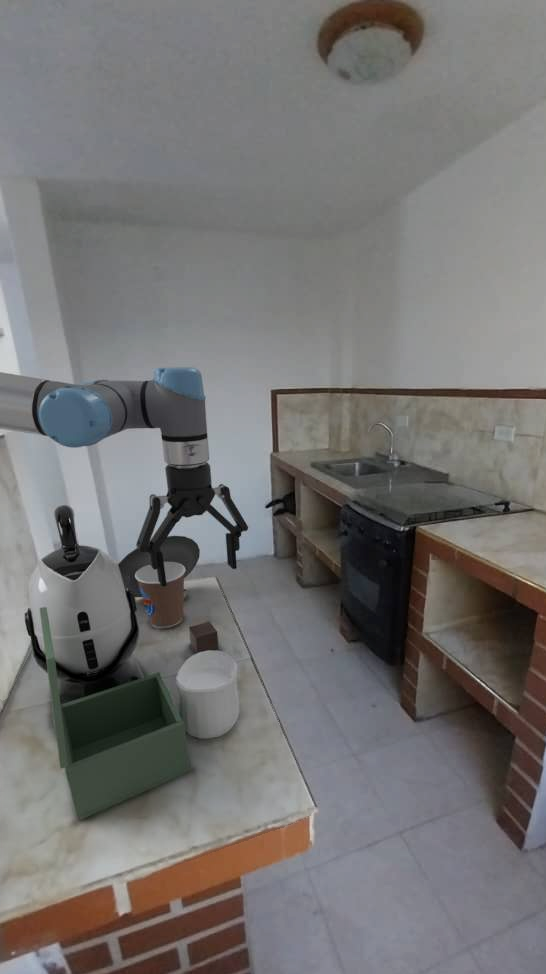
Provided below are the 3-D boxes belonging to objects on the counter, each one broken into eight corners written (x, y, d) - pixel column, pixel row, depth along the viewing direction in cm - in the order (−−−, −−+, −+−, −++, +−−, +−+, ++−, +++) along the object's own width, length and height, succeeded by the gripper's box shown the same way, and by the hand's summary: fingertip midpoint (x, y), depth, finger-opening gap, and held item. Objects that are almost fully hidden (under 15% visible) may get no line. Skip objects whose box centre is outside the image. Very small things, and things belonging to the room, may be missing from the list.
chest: (165, 715, 75) (159, 672, 72) (190, 771, 65) (184, 723, 62) (67, 752, 68) (55, 706, 65) (78, 821, 58) (65, 770, 55)
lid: (46, 606, 60) (39, 607, 59) (54, 657, 50) (46, 659, 49) (58, 702, 65) (52, 704, 65) (68, 766, 55) (60, 769, 55)
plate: (168, 528, 95) (164, 522, 96) (93, 591, 96) (90, 584, 97) (217, 557, 114) (214, 551, 115) (154, 609, 115) (151, 603, 116)
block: (190, 645, 93) (188, 626, 92) (211, 638, 95) (209, 620, 94) (197, 656, 90) (195, 637, 88) (218, 649, 92) (217, 631, 90)
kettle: (47, 666, 87) (6, 506, 75) (134, 643, 94) (109, 493, 82) (51, 758, 67) (-3, 561, 55) (161, 720, 74) (134, 537, 62)
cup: (187, 749, 69) (181, 698, 65) (175, 706, 77) (169, 658, 74) (248, 730, 72) (245, 680, 69) (230, 690, 81) (227, 644, 77)
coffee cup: (138, 614, 104) (131, 566, 99) (184, 604, 108) (179, 557, 104) (146, 637, 95) (138, 586, 91) (195, 625, 100) (190, 576, 95)
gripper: (115, 477, 69) (135, 600, 77) (262, 459, 81) (266, 566, 89) (106, 468, 75) (125, 582, 83) (245, 451, 87) (250, 553, 95)
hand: (198, 574), depth 86 cm, fingers open, 13 cm apart
